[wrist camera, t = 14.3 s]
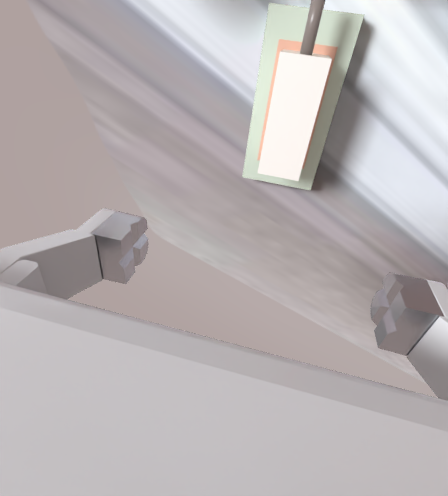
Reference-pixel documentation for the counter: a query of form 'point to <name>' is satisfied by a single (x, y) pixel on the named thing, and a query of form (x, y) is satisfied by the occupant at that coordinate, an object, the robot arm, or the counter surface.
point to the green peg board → (340, 50)
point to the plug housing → (294, 103)
